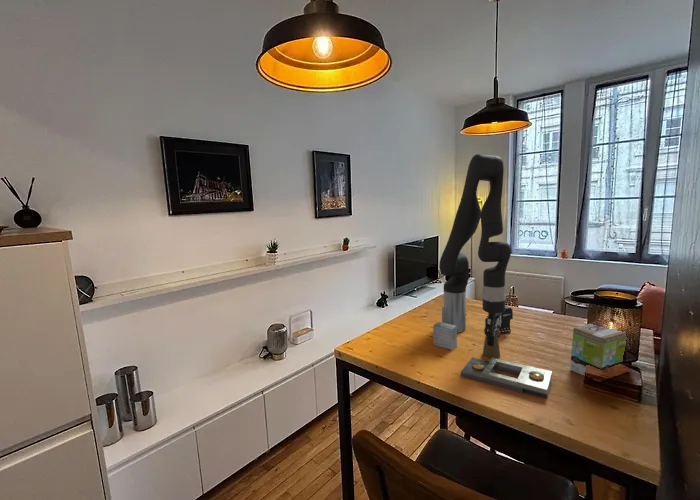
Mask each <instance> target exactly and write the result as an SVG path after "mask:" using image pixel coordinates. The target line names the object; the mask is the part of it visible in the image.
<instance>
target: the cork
mask: <svg viewBox="0 0 700 500" xmlns="http://www.w3.org/2000/svg"><path fill="white" fill-rule="evenodd" d="M493 327H494V326H493ZM483 332H484V334H485V328H484V329H483ZM489 332H491V329H490V330H489ZM499 334H500V330H499V328H498V327H497V330H495V335H494V346H489V345H487V335H485V336H484V337H485V338H484V344H483V349H482V356H483V357H484V358H487V359H490V360H491V359H492V358H496V359H500V358H501V353H500V352H501V351H500V343H499V338H498V335H499ZM500 335H501V334H500Z"/></svg>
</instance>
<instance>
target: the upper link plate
mask: <svg viewBox="0 0 700 500" xmlns="http://www.w3.org/2000/svg"><path fill="white" fill-rule="evenodd" d="M489 361H490V362H489V363H488V365H487V366H486V368H485V369H484V371H483V373H482V378H486V379H490V380H494V381H497V382H501V383H505V384H509V385H513V386H516V387H520V388H524V391H523V393H524V392H525V393H528V394H531V395H532V394H533V395H537V396H540V397H542V398H543V397H544V398H548V397H549V396H548V395H549V392H550V389H551V385H552V377H553V371H552V370H548V369H543V368H539V367H535V366H531V365H526V364H521V363H517V362H513V361H507V360H503V359H500V358H498V359H496V358H492V359H490V360H489ZM496 366H500V367H504V368H508V369H512V370H517V371H521V372H520V375H518V377H517V378H516V377H513V376H512V377H511V376H509V375H505V374H502V373H501V374H499V373H496V372H494V373H493V370H494V368H495V367H496Z"/></svg>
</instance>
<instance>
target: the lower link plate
mask: <svg viewBox="0 0 700 500" xmlns="http://www.w3.org/2000/svg"><path fill="white" fill-rule="evenodd" d="M489 362H490V360H485V359H481V358H478V357H474V356H472V357H471V358H470V359H469V361H468V362H467V363H466V365H465V366H464V367H463V369H462V370H461V371H460V377H463V378H466V379H470V380H474V381H477V382H481V383H485V384H489V385H491V386H496V387H499V388H504V389H507V390H511V391H515V392H517V393H522V394H523V393H524V388H520V387H516V386H513V385H509V384H505V383H501V382H497V381H494V380H490V379H486V378H482V373H483V371H484V369H485V368H486V366H487V365H488V363H489ZM496 371H499V372H504V373H508V374H511V375H512V374H513V375H516V376H519V375H520V372H521V371H517V370H512V369H508V368H504V367H500V366H496V367H495V368H494V370H493V373H496Z"/></svg>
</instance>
